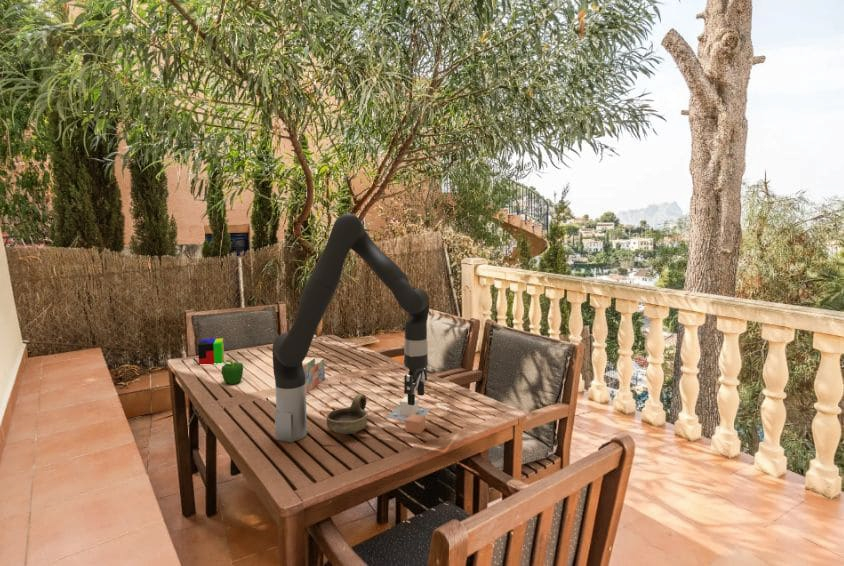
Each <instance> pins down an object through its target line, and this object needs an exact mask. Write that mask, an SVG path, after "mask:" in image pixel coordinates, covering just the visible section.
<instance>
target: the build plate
mask: <svg viewBox="0 0 844 566" xmlns="http://www.w3.org/2000/svg"><path fill="white" fill-rule="evenodd" d="M430 411H431V409H430V408H425V407H419V406H418V412H417V413H416V414H415V415H420V416H427V414H428V413H429V412H430ZM408 417H409V416H404V415H400V404H399V405H398V406H397V407H395V408H394V409H393V410H392V411H391V412H390V413H389V414H388V415H387V416H386V418H389V419H393V420H394V419H395V420H399V421H405V422H406V419H407V418H408Z"/></svg>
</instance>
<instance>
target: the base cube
mask: <svg viewBox="0 0 844 566" xmlns="http://www.w3.org/2000/svg"><path fill="white" fill-rule="evenodd" d="M399 405H400V415H404V416H410V415H411V414H414V415H415V414H416V413H417V412H418V407H419V398H418V397H415V404H414V405H408V395H406V396H404V397H402V398H401V400H400V401H399Z"/></svg>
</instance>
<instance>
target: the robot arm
mask: <svg viewBox="0 0 844 566" xmlns="http://www.w3.org/2000/svg"><path fill="white" fill-rule="evenodd" d="M326 242H327V243H326V245H325V247H324V249H323V251H322V253H321V255H320V257H319V259H318V261H317V262H316V265H315V266H314V268H313V270H312V273H311V274H310V275H309V277H308V280H307V281H306V283H305V286H304V287H303V290H302V293H301V295H300V299H299V303H298V308H297V313H296V317H295V320H294V322H293V324H292V326H291V328H290V329H289V331H288V332H283V333H280V334H279V335H277V336H276V338H275V339H274V341H273V343H272V351H271V352H272V365H273V367H272V368H273V376H274V381H275V404H276V405H275V407H276V409H275V411H274V430H275V431H274V432H275V440H276V441H277V440H278V441H281V442H287V443H293V442H295V441H299V440H301V439H304V438H305V437H306V436H307V435H308V427H307V426H308V421H307V420H308V419H307V417H308V416H307V393H306V378H305V373H304V369H303V364H302V361H303V360H304V359H305V357H307V355H308V352H309V350H310V347H311V346H312V345H311V344H312V342H313V339H314V337H315V333H316V331H317V329H318V326H319V324H320V323H321V320H322V319H323V318H324V315H325V313H326V312H327V311H326V310H327V309H328V307H329V305H330V304H331V301H332V299H333V297H334V295H335V294H336V291H337V289H338V286H339V284H340V280H341V277H342V272H343V268H344V264H345V261H346V258H347V256H348V255H349V253H350V250H352V251H353V252H354V253H356V254H357V255H358V256H359V257H360V258H361V259H362V260H363V261H364V262H365V263H366V264H367V265H368V267H369V268H370V270H372V272H373V273H374V274H375V275H376V276H377V278H378V279H379V280H380V281H381V282H382V283H383V284H384V286H385V287H387V289H389V291H391V292H392V295H393V297H394V298H395V300H396V302H398V305H400V307H401V309H402V310H404V312H406V313H407V314H408V318H407V320H406V321H405V324H404V345H403V346H404V348H403V352H404V357H403V358H404V363H403V364H404V367H406V368H407V369H408V370H409V371H408V374H405V375H404V376H403V377H404V379H403V380H404V383H403V384H404V387H403V389H404V390H403V391H404V392H403V393H404V394H406V395H407V397H408V405H414V404H415V398H416V393H417V396H421V397H422V396H425V385H426V381H427V380H428V365H429V364H428V362H429V361H428V359H429V358H428V354H429V353H428V348H429V347H428V346H429V345H428V334H427V333H428V330H427V329H428V327H427V323H428V318H429V312H430V297H429V295H428V293H427V292H426V291H425V290H423V289H421V288H417V289H414V288H413V287H412V286H411V284H410V282H409V277H408V276H407V274H406V273H405V272H404V271H403V270H402V269H401V268H400V267H399V266H398V264H396V263H395V261H393V259H392V258H390V257H389V256H388V255H387V254H385V252H384V251H382V250H381V249H380V248H379V247H378V245H377V244H375V242H374V241H373V239H371V236H369V234H368V232H367V231H366V228H365V226H364V224H363V223H362V221H361V220H360V218H359V217H358V216H357V215H355V214H353V213H344V214H342V215H340V216H339V217H338V218H337V219H336V220H335V221H334V223H333V226H332V228H331V231H330V234H329V237H328V239H327V241H326ZM416 390H417V391H416Z"/></svg>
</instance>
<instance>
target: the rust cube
mask: <svg viewBox="0 0 844 566" xmlns="http://www.w3.org/2000/svg"><path fill="white" fill-rule="evenodd" d="M426 417H427V415H425V416H420V415H414V414H411V415H410V416H409V417H408V418H407V419H406V421H405V432H407V433H412V434H418V435H421V433H423V431H424V430H425V428H426V420H427V419H426Z"/></svg>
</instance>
